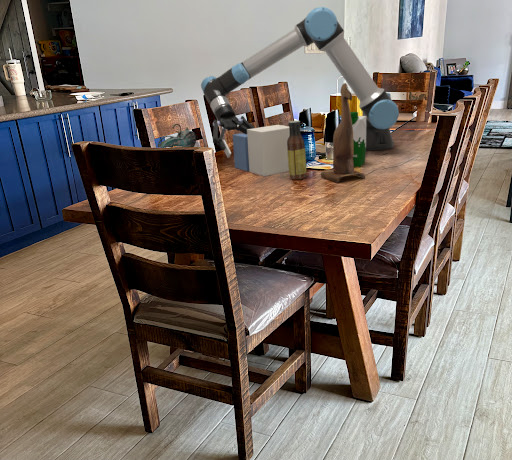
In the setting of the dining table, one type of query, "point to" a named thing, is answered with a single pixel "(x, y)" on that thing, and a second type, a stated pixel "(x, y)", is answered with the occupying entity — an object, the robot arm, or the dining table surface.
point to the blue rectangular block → (241, 151)
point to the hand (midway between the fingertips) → (244, 152)
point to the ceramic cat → (179, 139)
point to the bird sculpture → (343, 143)
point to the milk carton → (359, 139)
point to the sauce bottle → (296, 152)
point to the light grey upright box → (268, 149)
